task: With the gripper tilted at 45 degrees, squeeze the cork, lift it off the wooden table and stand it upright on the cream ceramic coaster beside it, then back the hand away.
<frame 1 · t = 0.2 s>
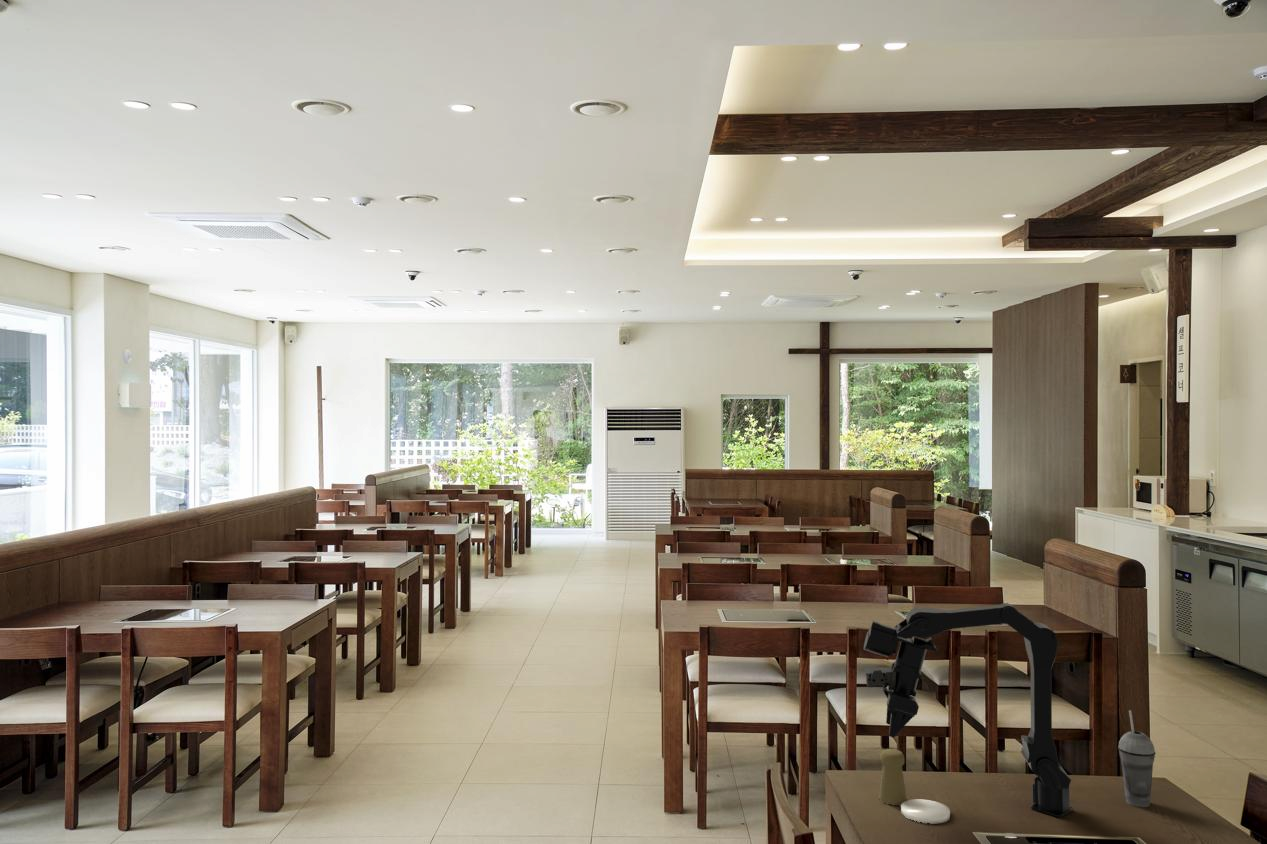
hand: (889, 730, 204), 15 cm above the table, tool tilted 15°, fingers open, 9 cm apart
beverage cup: (1137, 804, 200), on the table
coaster: (925, 814, 195), on the table
cork: (892, 801, 203), on the table
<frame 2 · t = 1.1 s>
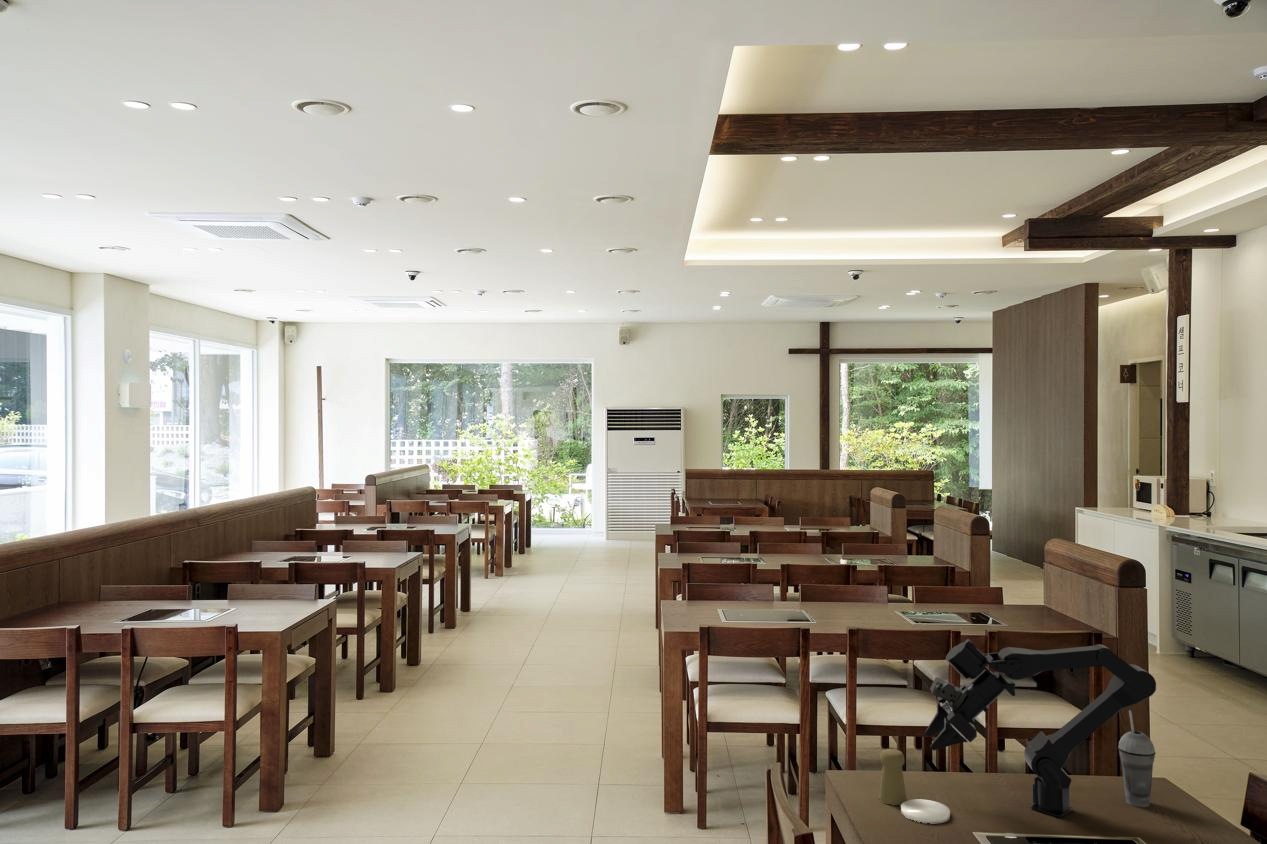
hand: (928, 741, 202), 13 cm above the table, tool tilted 45°, fingers open, 9 cm apart
nothing on the table moved.
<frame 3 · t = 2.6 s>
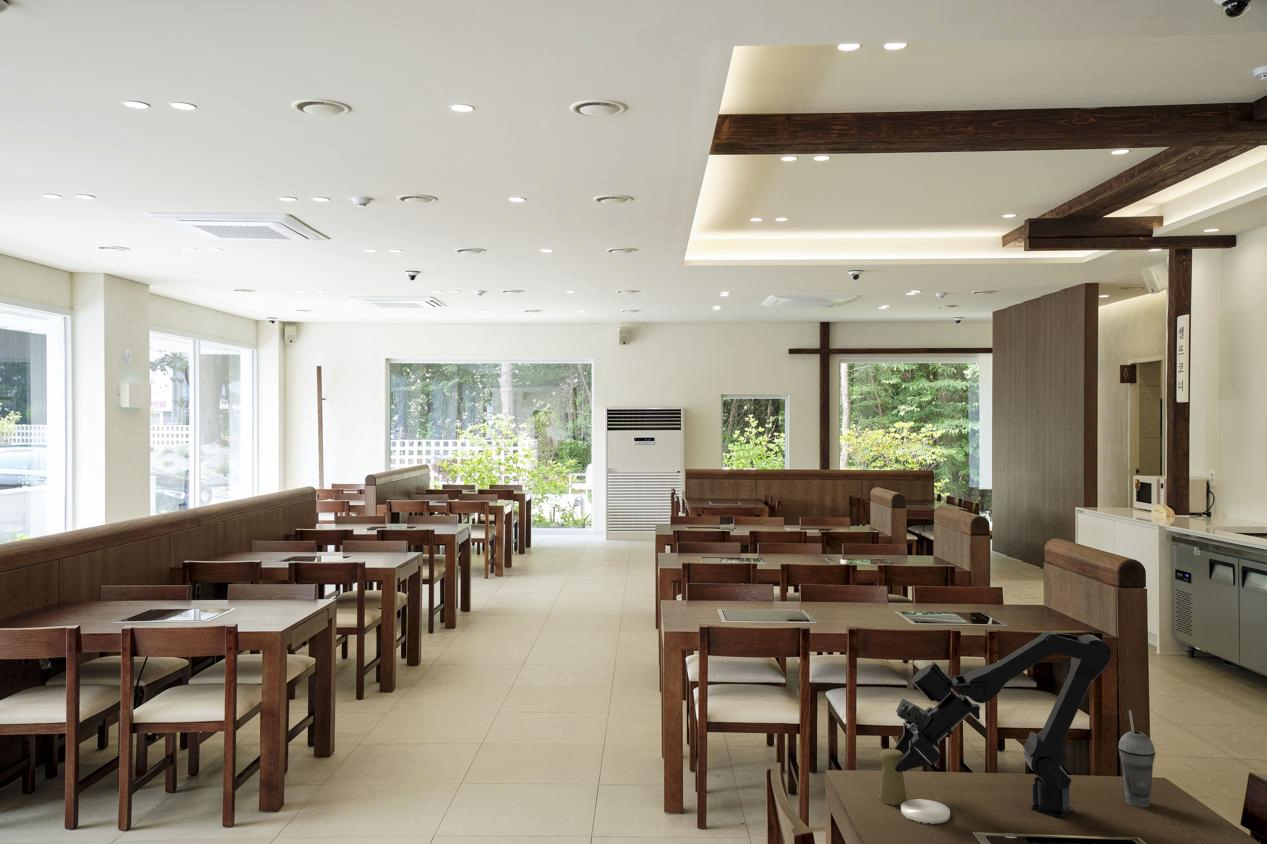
hand: (894, 763, 203), 8 cm above the table, tool tilted 45°, fingers open, 9 cm apart
nothing on the table moved.
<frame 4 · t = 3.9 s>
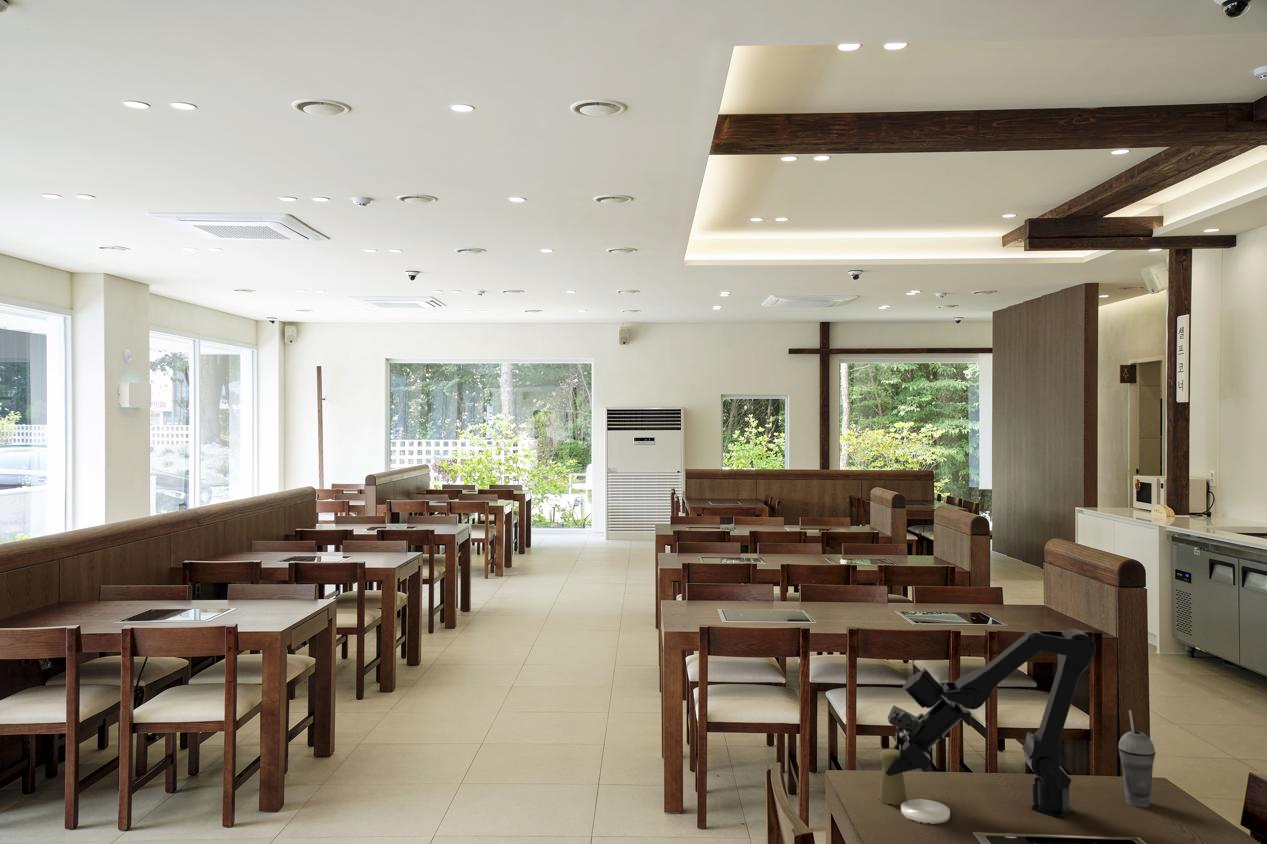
hand: (886, 770, 203), 7 cm above the table, tool tilted 45°, fingers closed on cork, 5 cm apart
cork: (892, 801, 203), on the table, touching gripper
everything else where it was.
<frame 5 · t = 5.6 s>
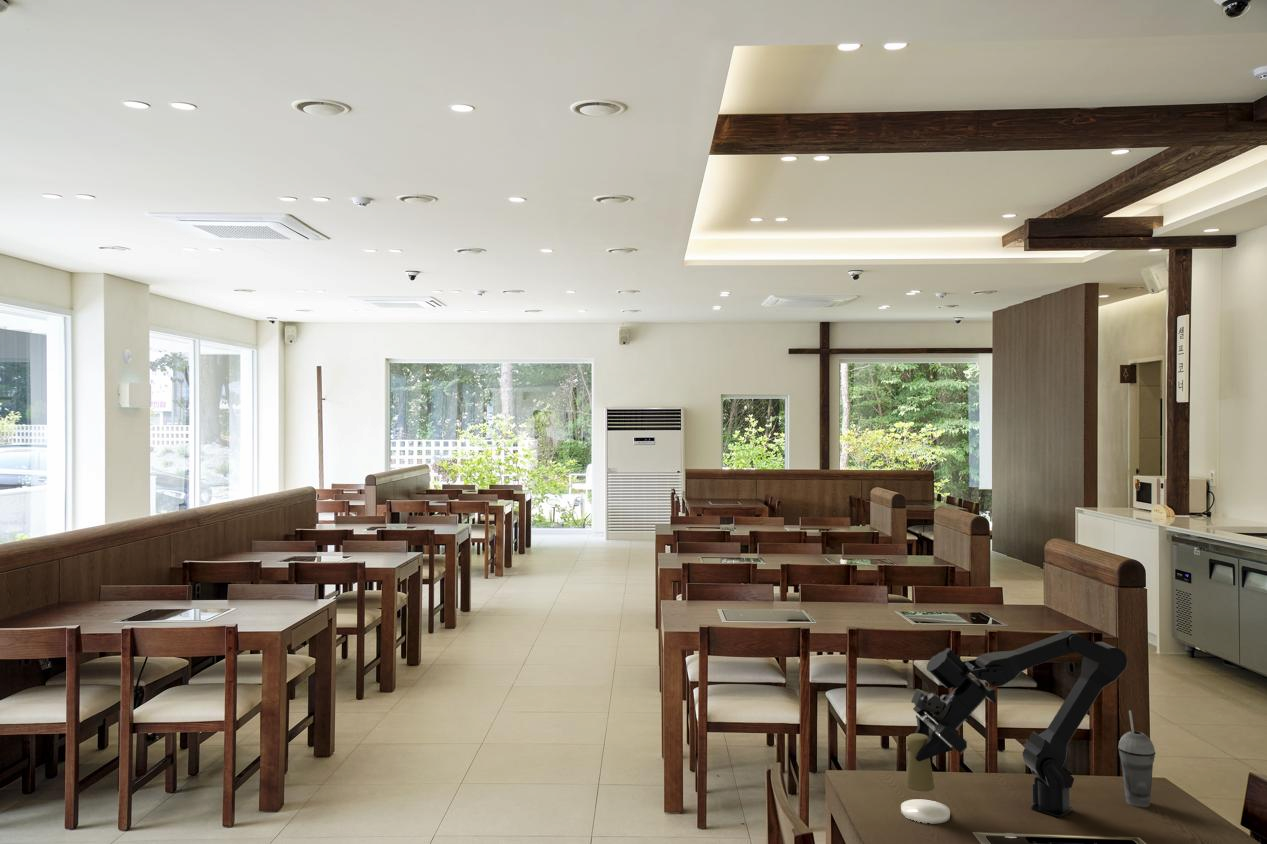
hand: (912, 755, 197), 12 cm above the table, tool tilted 45°, fingers closed on cork, 5 cm apart
cork: (920, 787, 197), point 5 cm above the table, touching gripper
everything else where it was.
when the fingers open (9 cm above the table, at t = 7.3 s): cork drops 1 cm, resting on coaster.
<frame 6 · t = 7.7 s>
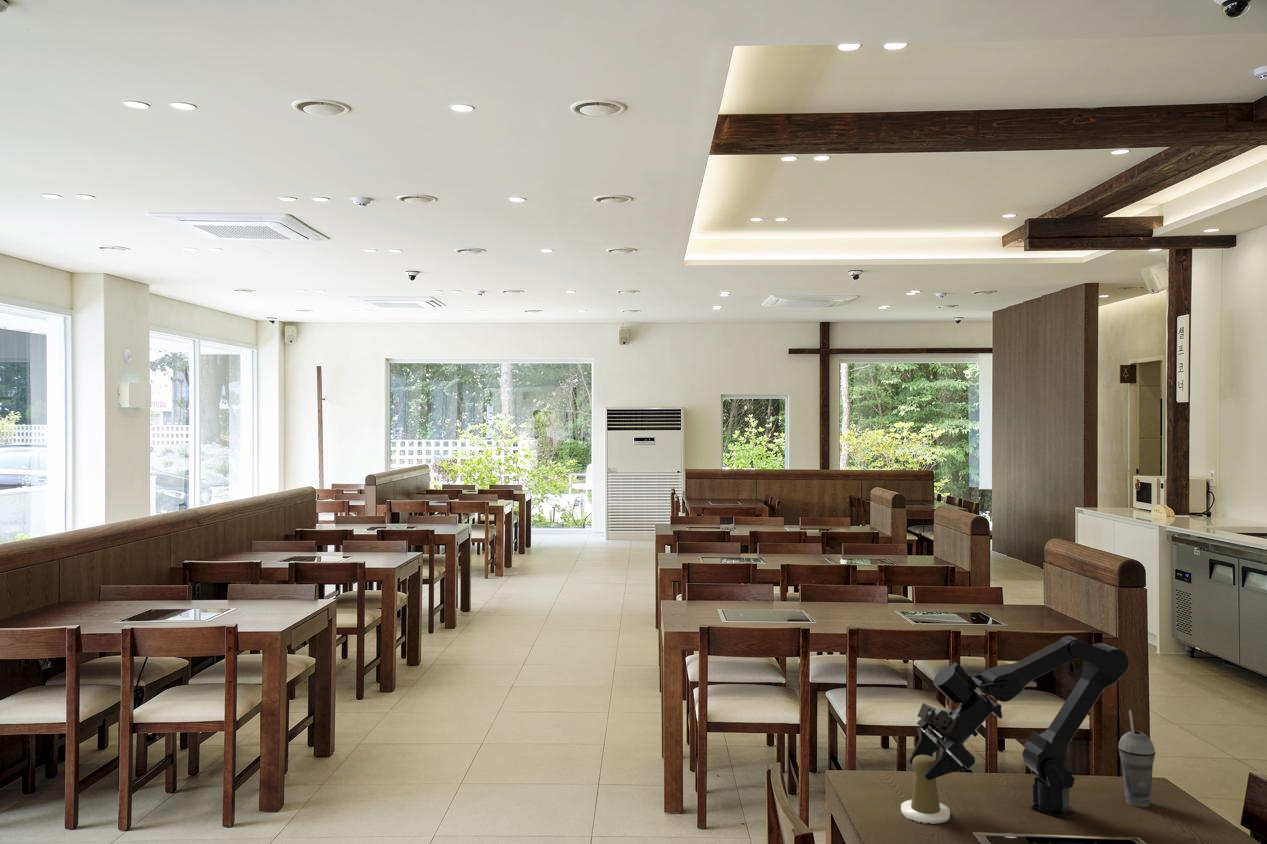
hand: (918, 770, 195), 9 cm above the table, tool tilted 45°, fingers open, 9 cm apart
cork: (925, 809, 195), point 1 cm above the table, touching coaster
everything else where it was.
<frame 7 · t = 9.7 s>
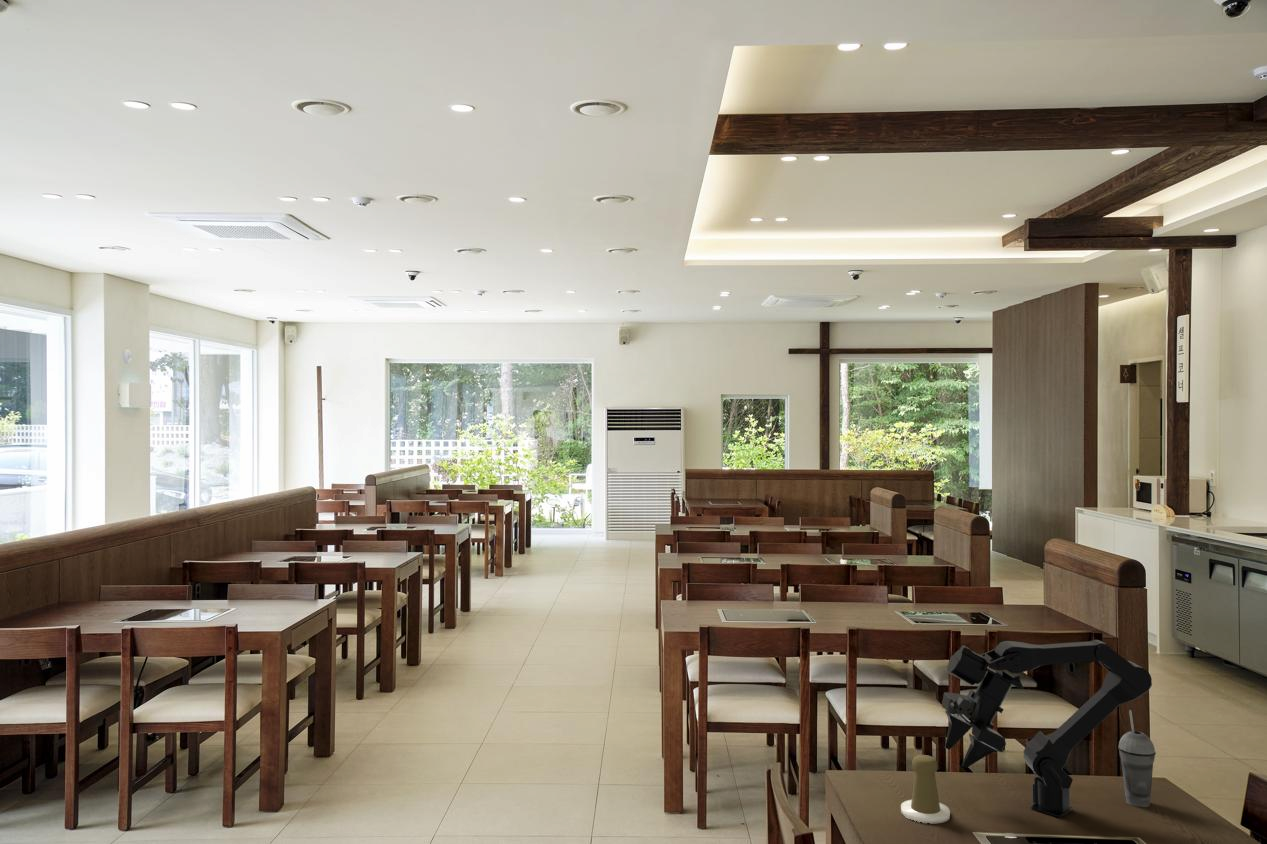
hand: (955, 757, 199), 11 cm above the table, tool tilted 30°, fingers open, 9 cm apart
nothing on the table moved.
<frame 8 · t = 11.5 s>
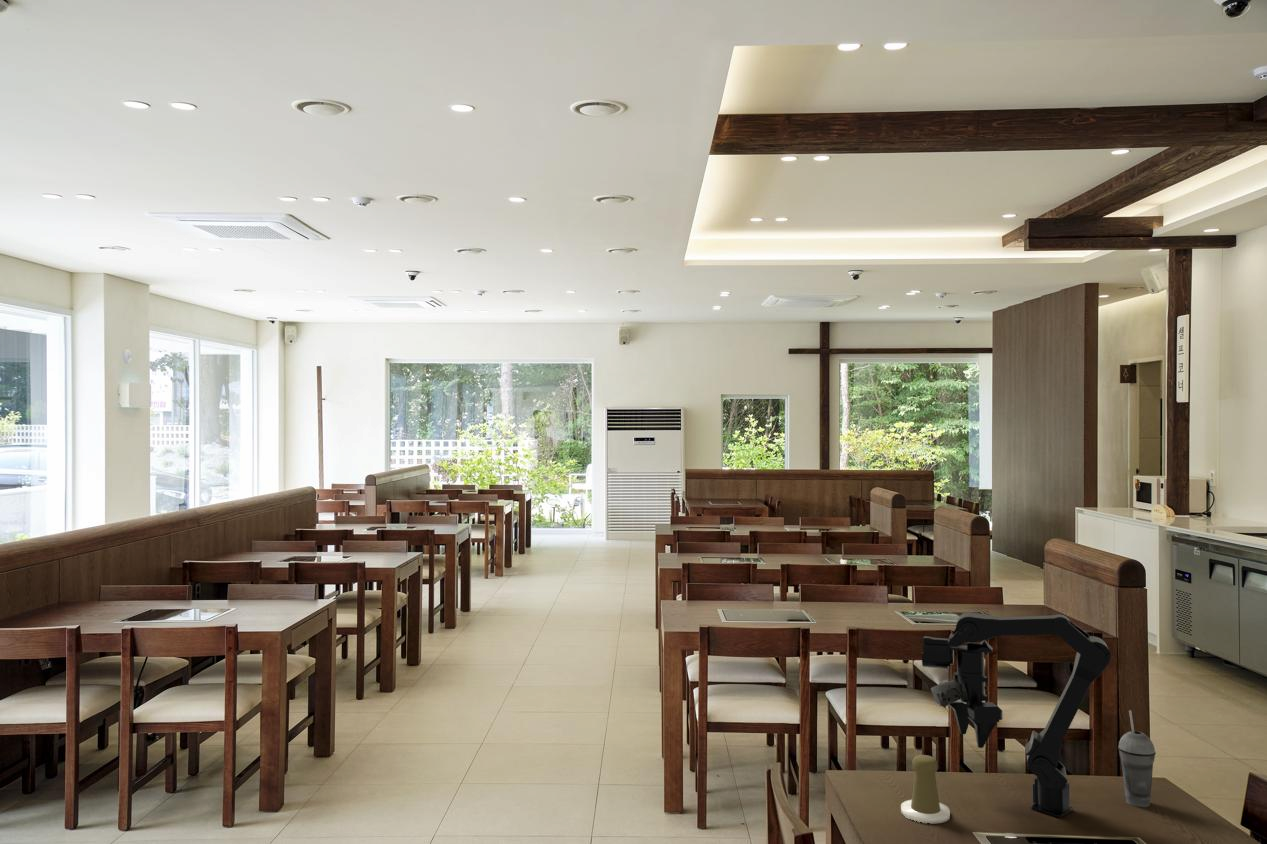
hand: (971, 740, 203), 13 cm above the table, tool pointing down, fingers open, 9 cm apart
nothing on the table moved.
at the end: cork 0.1 cm off-centre on the coaster, point 1.0 cm above the coaster's base; cork tilted 0°; the gripper is holding nothing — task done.
